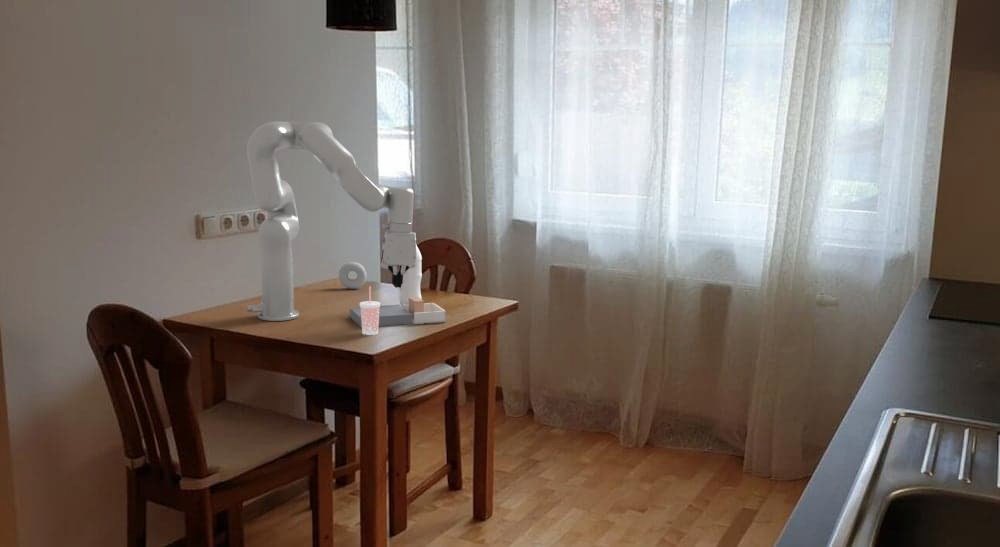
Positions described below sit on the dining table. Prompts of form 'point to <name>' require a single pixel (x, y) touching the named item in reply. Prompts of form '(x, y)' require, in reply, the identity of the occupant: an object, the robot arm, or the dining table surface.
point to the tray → (429, 314)
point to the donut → (348, 282)
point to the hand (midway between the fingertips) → (397, 286)
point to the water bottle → (411, 281)
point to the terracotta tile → (415, 305)
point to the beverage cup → (370, 316)
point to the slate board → (385, 315)
